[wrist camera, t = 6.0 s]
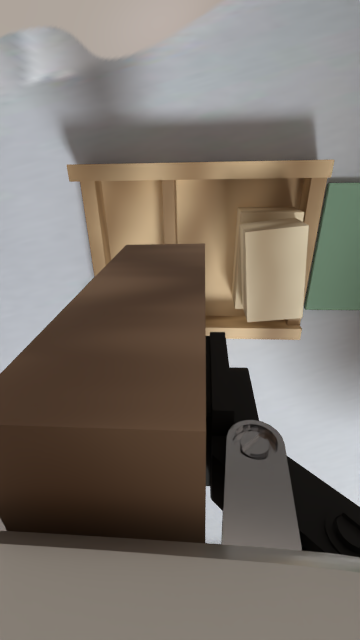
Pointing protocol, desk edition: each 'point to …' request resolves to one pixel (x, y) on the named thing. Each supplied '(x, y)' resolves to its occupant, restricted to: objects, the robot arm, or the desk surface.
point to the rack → (199, 219)
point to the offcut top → (273, 269)
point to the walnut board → (113, 406)
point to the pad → (337, 252)
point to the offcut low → (242, 217)
